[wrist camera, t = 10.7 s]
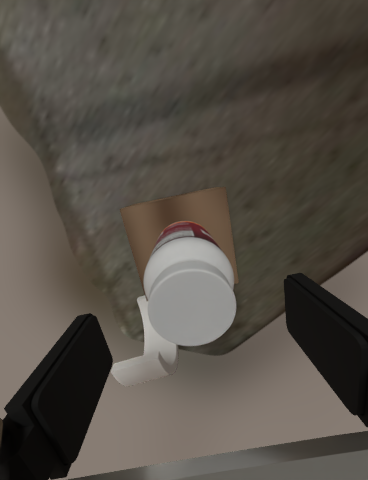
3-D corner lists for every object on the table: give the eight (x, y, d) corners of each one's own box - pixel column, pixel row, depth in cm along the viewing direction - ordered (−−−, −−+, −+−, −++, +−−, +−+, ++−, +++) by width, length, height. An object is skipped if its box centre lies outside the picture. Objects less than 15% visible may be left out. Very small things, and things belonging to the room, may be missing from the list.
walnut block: (214, 187, 24) (225, 186, 19) (225, 263, 27) (238, 282, 22) (133, 204, 25) (119, 209, 19) (153, 277, 28) (146, 301, 22)
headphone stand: (166, 288, 28) (158, 358, 17) (178, 320, 30) (179, 404, 18) (137, 297, 28) (110, 371, 17) (151, 328, 30) (134, 416, 18)
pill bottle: (219, 263, 21) (263, 340, 10) (168, 280, 21) (159, 372, 11) (202, 210, 19) (234, 237, 9) (147, 230, 20) (111, 280, 9)
